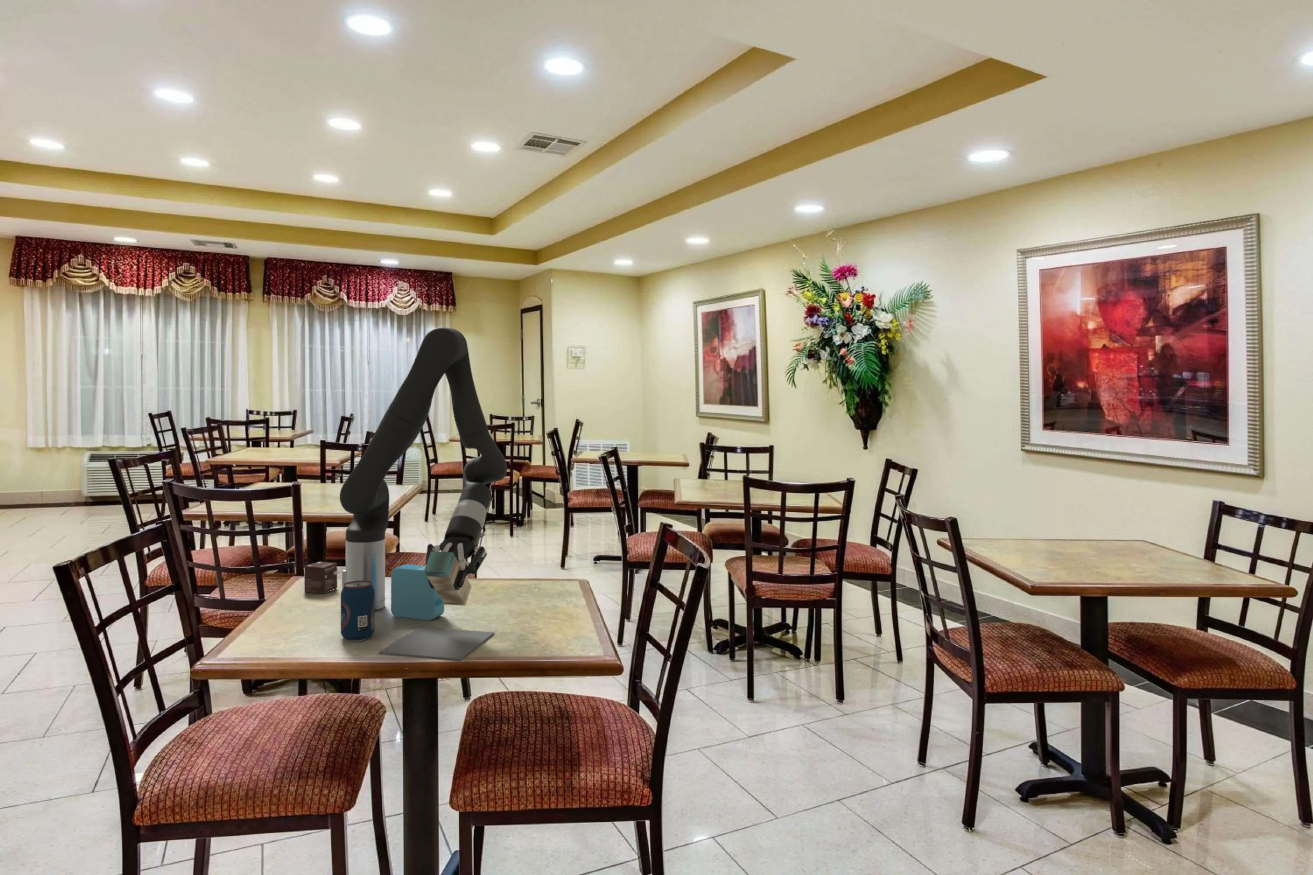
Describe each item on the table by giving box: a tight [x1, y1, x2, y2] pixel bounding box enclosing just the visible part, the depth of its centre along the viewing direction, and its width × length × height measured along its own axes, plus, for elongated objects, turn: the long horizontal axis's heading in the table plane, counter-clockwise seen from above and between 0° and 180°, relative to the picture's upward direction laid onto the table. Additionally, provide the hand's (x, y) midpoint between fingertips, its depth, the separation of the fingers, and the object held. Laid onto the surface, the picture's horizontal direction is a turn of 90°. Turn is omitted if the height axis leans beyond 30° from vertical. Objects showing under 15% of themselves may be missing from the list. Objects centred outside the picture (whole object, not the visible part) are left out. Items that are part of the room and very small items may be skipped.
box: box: [304, 561, 338, 594], centre depth 207 cm, size 6×6×7 cm
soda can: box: [340, 581, 376, 642], centre depth 168 cm, size 7×7×12 cm
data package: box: [390, 563, 445, 621], centre depth 185 cm, size 12×4×12 cm, turn 74°
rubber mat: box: [378, 626, 495, 662], centre depth 165 cm, size 18×18×1 cm
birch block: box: [424, 551, 472, 607], centre depth 169 cm, size 5×5×14 cm
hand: (444, 587), depth 167 cm, fingers closed on birch block, 5 cm apart
